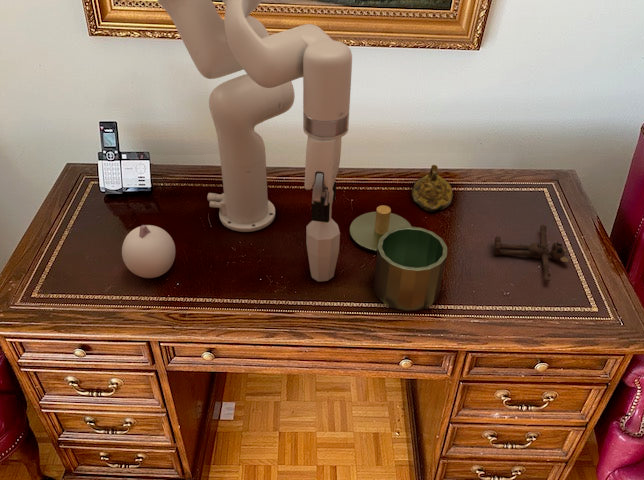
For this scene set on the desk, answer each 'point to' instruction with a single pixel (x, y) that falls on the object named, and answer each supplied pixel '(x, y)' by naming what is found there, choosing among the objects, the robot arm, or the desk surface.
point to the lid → (375, 227)
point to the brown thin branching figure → (534, 251)
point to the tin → (409, 268)
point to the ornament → (148, 251)
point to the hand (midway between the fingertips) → (323, 209)
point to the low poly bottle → (323, 245)
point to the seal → (432, 191)
